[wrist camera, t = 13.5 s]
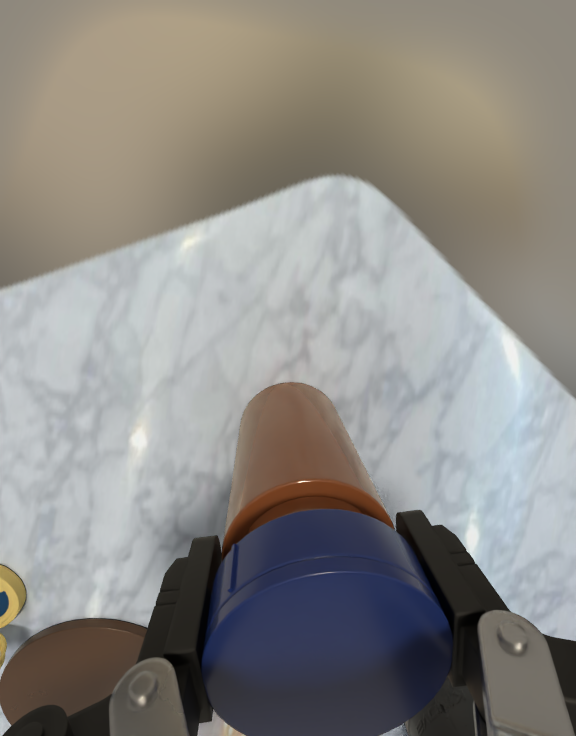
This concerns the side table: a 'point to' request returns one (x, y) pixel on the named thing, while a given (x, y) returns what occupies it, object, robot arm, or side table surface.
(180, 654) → the robot arm
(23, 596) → the eyeshadow
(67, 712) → the coaster
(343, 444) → the jar
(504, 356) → the side table surface
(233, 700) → the jar lid
